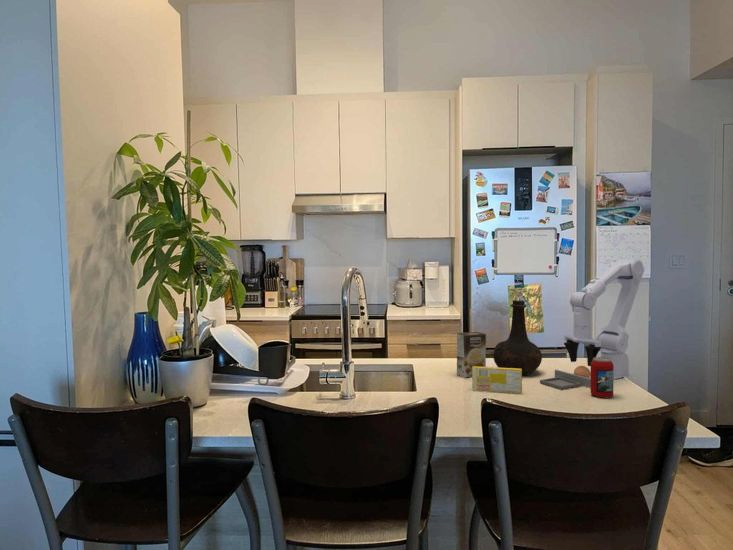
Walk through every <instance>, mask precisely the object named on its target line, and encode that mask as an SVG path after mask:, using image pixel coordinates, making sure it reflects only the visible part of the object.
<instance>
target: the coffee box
mask: <svg viewBox="0 0 733 550" xmlns="http://www.w3.org/2000/svg"><path fill="white" fill-rule="evenodd" d="M486 347H487V334H486V333H483V332H478V331H473V332H472V331H471V332H469V331H468V332H457V333H456V375H457V374H458V375H457V376H459V375H460V377H461V376H462V378H463V377H464V379H468V378H467V377H471V378H472V367H473V366H477V367H487V366H486V365H487V363H486V362H487V361H486V359H487V357H486V356H487V355H486V354H487V352H486V351H487V350H486V349H487V348H486Z"/></svg>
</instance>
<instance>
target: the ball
mask: <svg viewBox="0 0 733 550" xmlns="http://www.w3.org/2000/svg"><path fill="white" fill-rule="evenodd" d="M573 374H575V375H579V376H582V377H586V378H590V375H591V370H590V369H589V368H588V367H587V366H585V365H579V366H577V367H575V368H574V370H573Z"/></svg>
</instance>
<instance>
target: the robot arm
mask: <svg viewBox="0 0 733 550" xmlns="http://www.w3.org/2000/svg"><path fill="white" fill-rule="evenodd" d="M644 272H645V267H644V264H643V261H642V260H640V259H636V258H635V259H625V258H624V259H622V258H621V259H620V258H615V259H613V260H612V262H610V263H609V268H608V269H607V270H605V272H603V274H602V275H601V276H600V277H598V279H596V278H594V279H590V281H589V282H588V284H587V285H586V286H584V287H583V288H581V290H580V291H575V292H574V293H573V294H572V295H571V297H570V300H569V304H570V305H571V308H572V312H573V335H570V334H565V335H564V338H563V339H564V343H563V345H564V346H565V348H566V350H567V353H568V355H569V359H570V362H571V363H575V362H577V360H578V359H577V358H578V349H579V345H580V344H583V345H586V346H584V350H585V352H586V359H587V361H586V362H587V363H586V364H587V366H588V367H591V362H592V360H593V358H596V357H597V355H598V354H599V352H600V357H603V358H609V359H611V361H612V363H613V365H614V380H617V379H623V378H627V377H628V378H629V377H631V374H630V372H629V371H630V369H629V365H630V364H629V361H630V360H629V356H628V354H627V353H626V351H627V349H628V346H629V338H630V334H629V333H628V332H627V331H626V330H625V328H626V325H627V322H628V320H629V317H630V313H631V311H632V307H633V304H634V301H635V298H636V295H637V292H638V290H639V286H640V284H641V280H642V278H643V275H644ZM614 280H616V281H617V282H618V283H619V284H620V285H621V288H620V291H619V294H618V296H617V299H616V302H615V306H614V308H613V311H612V314H611V317H610V320H609V323H608V324H607V325H605V326H603V327H601V328H600V329H601V330H600V331H599V333H598V334H597V336H596V338H595V339H594V338H592V308H594V307H595V305H596V302H597V300H598V298H600V297H601V295H603V294H605V292H606V290H607V288H606V287H607V286H608V285H609V284H611V283H612V282H614ZM622 377H623V378H622Z"/></svg>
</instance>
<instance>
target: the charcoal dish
mask: <svg viewBox="0 0 733 550" xmlns="http://www.w3.org/2000/svg"><path fill="white" fill-rule="evenodd" d="M540 383H541V385H544V386H547V385H548V387H550V386H551V388H553V387H554V389H557V390H560V389H561V390H560V391H564V389H565V390H570V389H569V388H571V389H574V387H576V388H580V387H579V386H581V383H579V382H575V381H572V380H568V379H565V378H561V377H555V376H554V377H551V378H549V377H548V378H544V379H539V384H540ZM581 387H582V386H581Z"/></svg>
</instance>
